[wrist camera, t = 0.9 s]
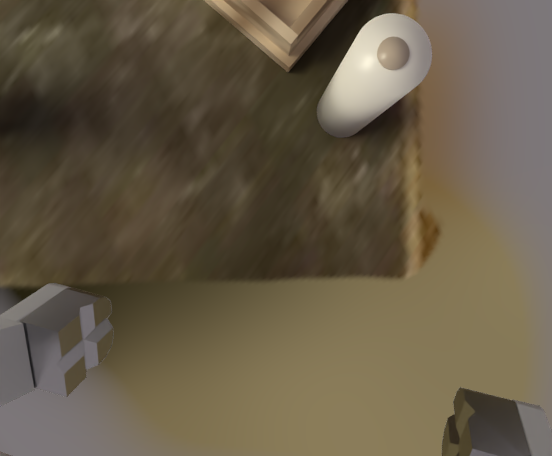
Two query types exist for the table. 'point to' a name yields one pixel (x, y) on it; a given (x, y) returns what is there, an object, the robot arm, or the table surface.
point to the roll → (375, 73)
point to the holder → (280, 24)
